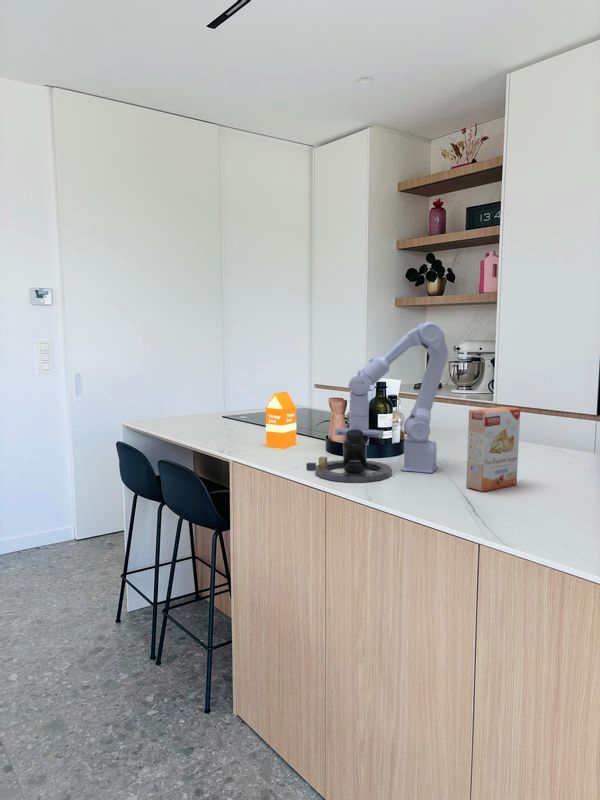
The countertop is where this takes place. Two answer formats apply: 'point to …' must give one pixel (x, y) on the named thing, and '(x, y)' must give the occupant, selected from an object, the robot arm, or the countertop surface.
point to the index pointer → (311, 466)
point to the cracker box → (492, 448)
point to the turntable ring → (324, 472)
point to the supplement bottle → (354, 452)
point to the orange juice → (281, 421)
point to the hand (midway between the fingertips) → (358, 460)
